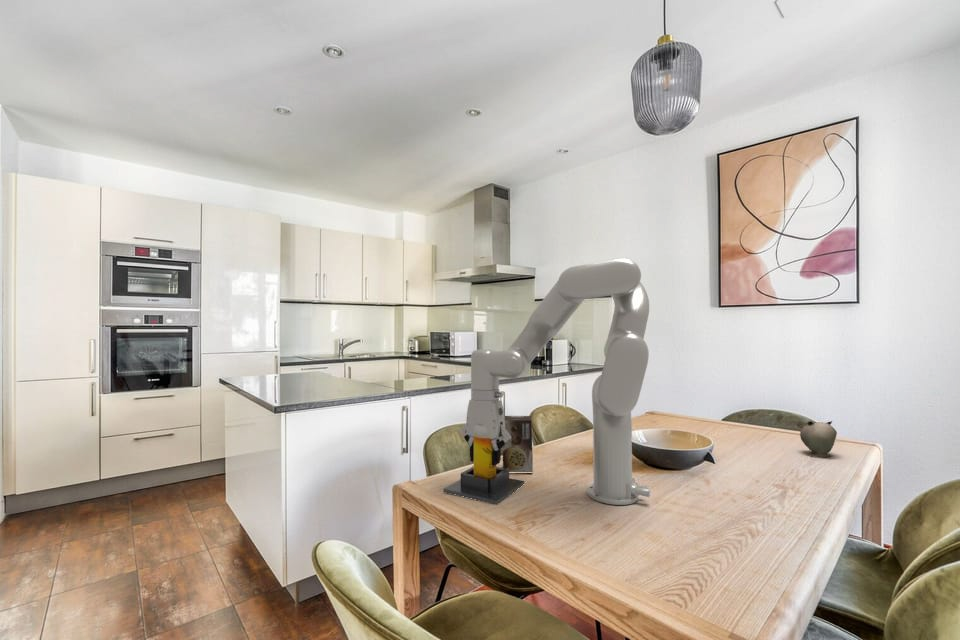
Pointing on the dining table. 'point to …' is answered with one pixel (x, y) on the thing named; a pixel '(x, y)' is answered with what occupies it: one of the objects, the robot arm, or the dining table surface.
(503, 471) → the mount
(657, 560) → the dining table surface
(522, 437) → the coffee box
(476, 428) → the beer can
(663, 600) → the dining table surface
